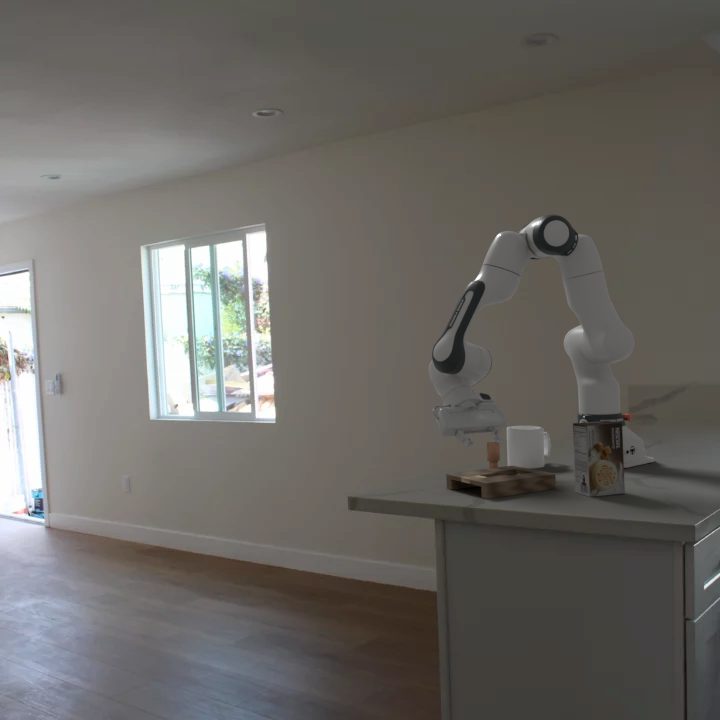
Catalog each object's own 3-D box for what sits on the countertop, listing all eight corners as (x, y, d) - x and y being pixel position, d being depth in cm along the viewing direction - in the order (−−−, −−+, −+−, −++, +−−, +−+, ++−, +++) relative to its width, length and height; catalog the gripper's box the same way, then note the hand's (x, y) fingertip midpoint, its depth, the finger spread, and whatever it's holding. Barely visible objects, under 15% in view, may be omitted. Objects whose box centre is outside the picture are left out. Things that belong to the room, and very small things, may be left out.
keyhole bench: (512, 479, 202) (512, 465, 202) (555, 488, 188) (555, 473, 188) (446, 488, 193) (446, 473, 193) (487, 498, 179) (486, 483, 179)
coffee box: (609, 489, 186) (607, 420, 185) (625, 494, 179) (623, 422, 179) (574, 492, 183) (572, 422, 183) (589, 497, 177) (587, 425, 177)
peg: (495, 475, 209) (494, 441, 209) (507, 478, 205) (506, 442, 205) (480, 477, 207) (479, 442, 207) (492, 480, 203) (491, 444, 202)
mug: (534, 460, 233) (533, 423, 232) (561, 464, 224) (559, 426, 224) (499, 465, 225) (498, 427, 225) (526, 469, 217) (525, 430, 216)
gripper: (434, 398, 210) (456, 439, 202) (496, 394, 220) (520, 433, 211) (425, 414, 214) (446, 455, 206) (487, 410, 224) (510, 448, 215)
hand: (484, 444), depth 209 cm, fingers open, 8 cm apart
